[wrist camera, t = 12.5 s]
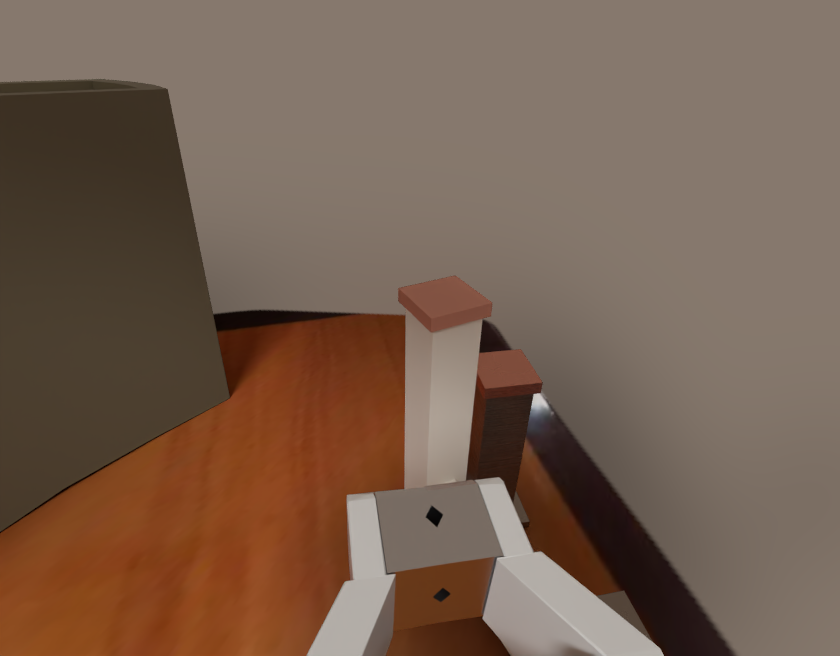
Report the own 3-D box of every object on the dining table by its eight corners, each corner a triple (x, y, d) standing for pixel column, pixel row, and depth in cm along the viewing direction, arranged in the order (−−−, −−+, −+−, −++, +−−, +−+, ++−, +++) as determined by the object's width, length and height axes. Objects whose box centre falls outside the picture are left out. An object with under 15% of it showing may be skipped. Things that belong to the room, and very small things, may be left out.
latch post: (462, 537, 35) (477, 397, 28) (445, 482, 39) (455, 349, 32) (528, 526, 35) (558, 388, 29) (505, 474, 40) (526, 342, 33)
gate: (398, 510, 36) (398, 288, 26) (441, 492, 37) (455, 275, 28) (527, 728, 25) (608, 482, 15) (580, 690, 26) (683, 444, 17)
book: (184, 364, 52) (110, 70, 38) (238, 398, 48) (176, 78, 34) (-80, 488, 37) (-364, 76, 23) (-37, 557, 33) (-362, 94, 18)
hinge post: (565, 749, 24) (590, 694, 21) (528, 643, 29) (544, 585, 26) (655, 726, 25) (691, 671, 22) (606, 627, 30) (630, 569, 26)
